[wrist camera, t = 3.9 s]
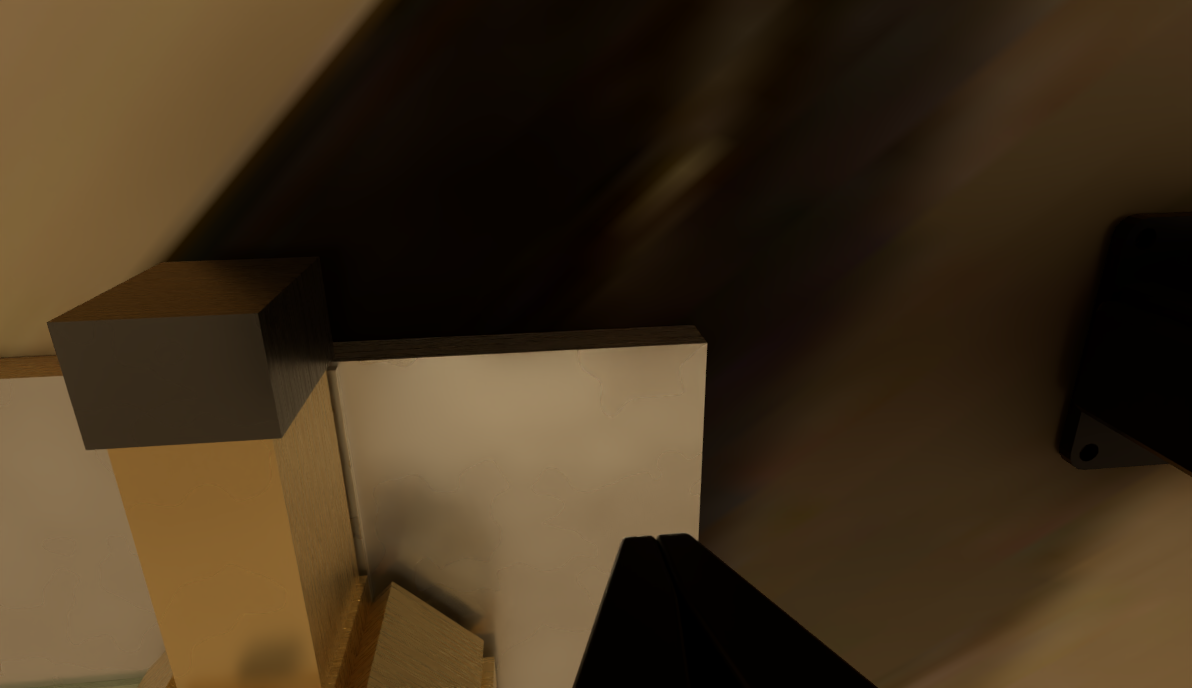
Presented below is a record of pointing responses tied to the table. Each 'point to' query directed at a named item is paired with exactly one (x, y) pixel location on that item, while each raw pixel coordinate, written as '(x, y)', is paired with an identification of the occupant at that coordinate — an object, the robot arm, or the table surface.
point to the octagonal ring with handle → (244, 483)
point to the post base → (388, 495)
